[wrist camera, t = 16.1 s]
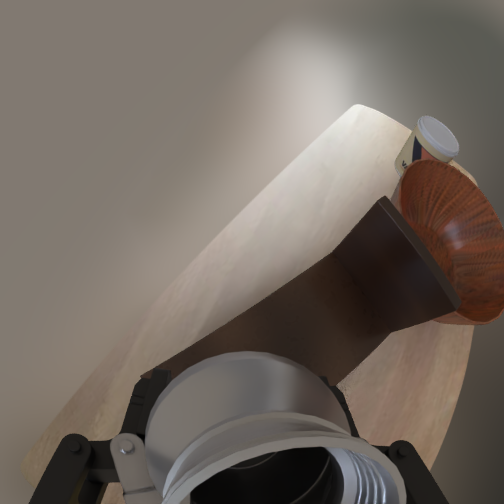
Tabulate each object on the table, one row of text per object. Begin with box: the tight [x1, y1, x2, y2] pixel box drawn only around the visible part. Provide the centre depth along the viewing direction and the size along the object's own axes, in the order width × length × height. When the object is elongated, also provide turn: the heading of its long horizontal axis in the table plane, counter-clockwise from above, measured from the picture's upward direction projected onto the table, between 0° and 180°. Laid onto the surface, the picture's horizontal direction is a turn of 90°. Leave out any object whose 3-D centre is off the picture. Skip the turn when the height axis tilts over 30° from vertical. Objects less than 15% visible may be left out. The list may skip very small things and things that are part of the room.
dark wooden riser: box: [140, 196, 462, 386], centre depth 23 cm, size 24×11×18 cm, turn 125°
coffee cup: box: [395, 116, 459, 176], centre depth 42 cm, size 9×9×12 cm
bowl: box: [390, 158, 504, 325], centre depth 34 cm, size 25×25×11 cm
